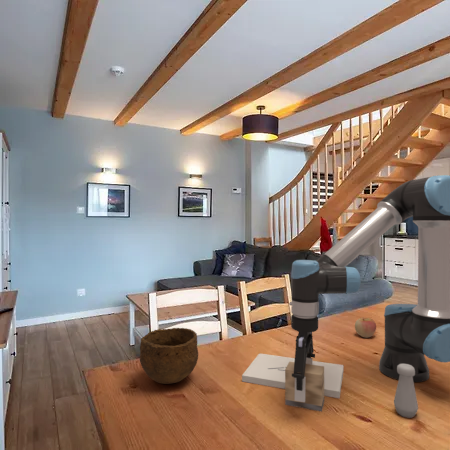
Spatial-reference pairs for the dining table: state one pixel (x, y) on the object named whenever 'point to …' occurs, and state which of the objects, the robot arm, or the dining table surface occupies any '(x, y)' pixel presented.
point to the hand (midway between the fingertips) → (304, 389)
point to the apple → (365, 327)
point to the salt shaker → (406, 392)
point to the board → (275, 373)
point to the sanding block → (306, 387)
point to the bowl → (169, 354)
